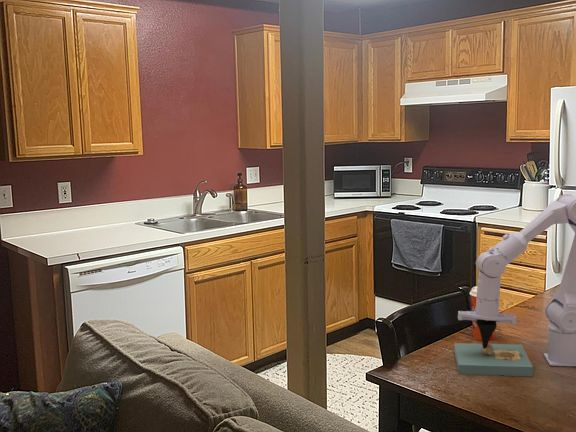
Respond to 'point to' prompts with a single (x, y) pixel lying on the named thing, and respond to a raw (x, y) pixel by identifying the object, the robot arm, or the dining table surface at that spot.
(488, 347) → the maple ball
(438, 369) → the dining table surface
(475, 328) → the coffee cup
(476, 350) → the hole board
